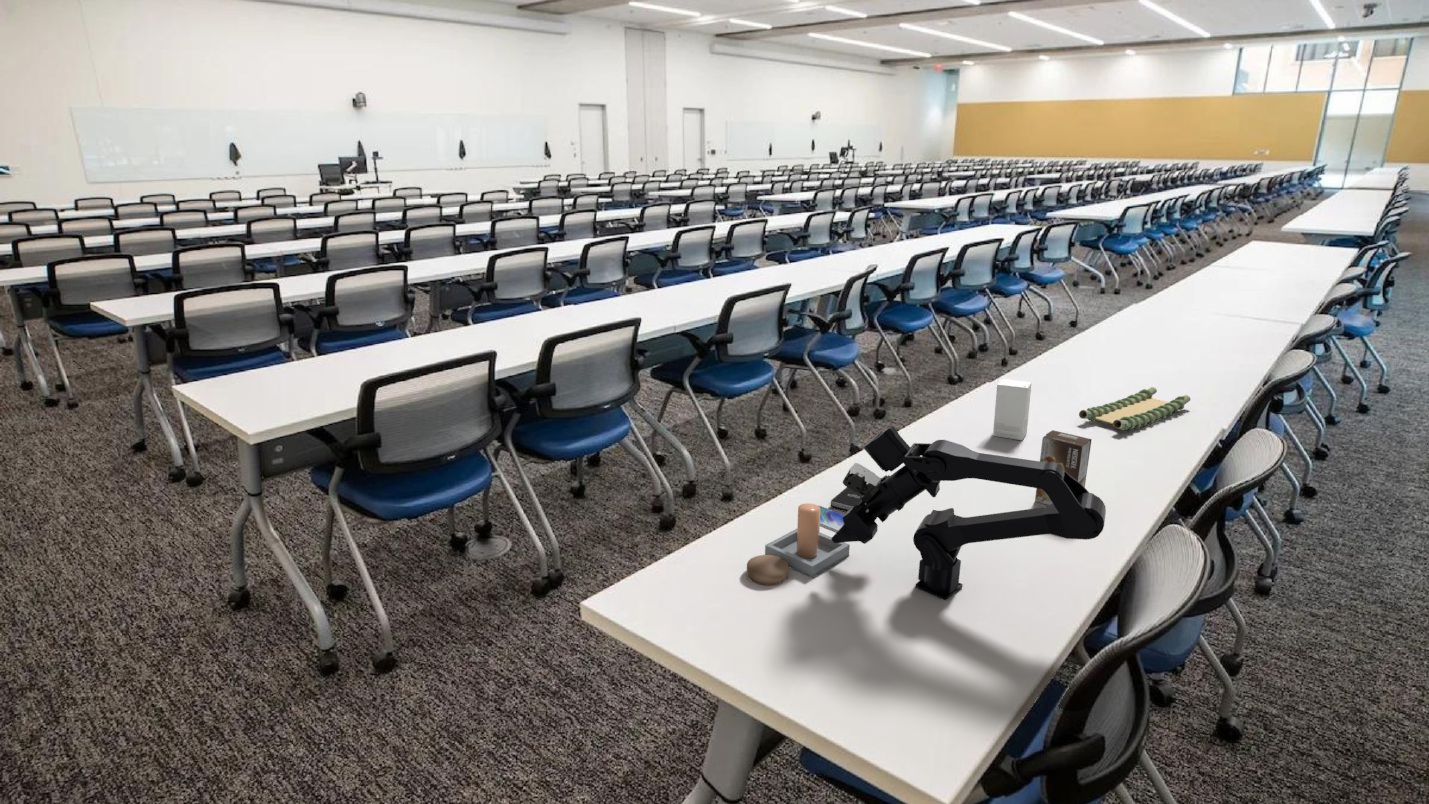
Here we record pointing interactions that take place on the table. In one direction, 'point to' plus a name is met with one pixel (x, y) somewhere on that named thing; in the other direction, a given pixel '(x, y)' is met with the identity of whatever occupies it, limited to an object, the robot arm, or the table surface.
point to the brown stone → (767, 570)
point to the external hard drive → (846, 500)
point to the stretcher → (1135, 410)
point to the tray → (810, 567)
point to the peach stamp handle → (808, 530)
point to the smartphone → (830, 519)
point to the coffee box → (1065, 457)
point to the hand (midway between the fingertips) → (840, 530)
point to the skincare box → (1012, 409)
